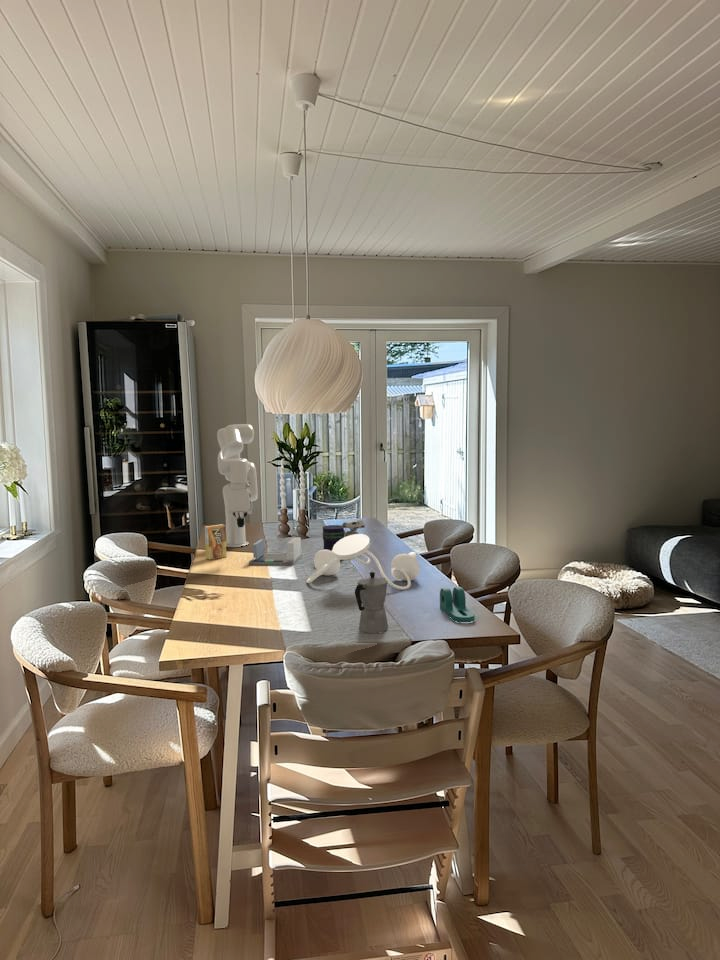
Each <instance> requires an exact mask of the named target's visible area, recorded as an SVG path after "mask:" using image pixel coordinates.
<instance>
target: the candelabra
mask: <svg viewBox="0 0 720 960" xmlns="http://www.w3.org/2000/svg"><path fill="white" fill-rule="evenodd" d="M370 546H371V541H370V537H369V536H368V535H366V534H364V533H359V534H354V535H349V536H347V537H344V538H342V539H341V540H339V541H338V542H337V543H336V544H335V545H334V546H333V550H332V551H330V550H326V549H324V550H323V549H321V550H319V551H317V552H316V553H315V555H314V557H313V565H314V567H315V569H316V571H314V573H312V574H311V575H310V576H309V577H308V579H306V583H307V584H311V583H312V582H314V581H315V580H316V579H317V578H318V577H320V576H321V575H322V576H327V577H328V576H329V577H330V576H334V575H336V574H337V573H338V572H339V571H340V570H341V561H340V560H343V561H345V560H347V561H348V560H351V559H355V560H356V561H357V562H359V563H360V564H362V565H369V564H371V558H372V559H373V561H374V562H375V564H376V567H377V569H378V571H379V573H380V575H381V578H386V579H385V580H387V581H388V582H387V585H389V586H391V587H392V588H394V589H397V590H399V591H405V590H409V588H411V585H412V582H411V581H414V580H416V578H418V576H419V575H420V569H421V568H420V567H421V566H420V564H419V562H418V560H417V553H416V552H415V551H410V552H408V554H407V553H399V554H397V555H395V556H394V558H392V560H391V564H390V565H391V566H390V569H391V571H390V575H391V577H392V578H394V580H396V581H398V582H402V581H403V582H407V585H405V586H400V585H397V584H395V583H393V582H392V581H391V580H390V579H389V578H388V577H387V575H386V574H385V572H384V571H383V568H382V566H381V563H380V561H379V560H378V558H377V557H376V556H375V554H373V553H372V552H371V551H369V549H370ZM368 555H369V556H370V557H369V556H368ZM359 556H363V557H364V558H365V559H366V561H365V560H362V559H360V558H359Z"/></svg>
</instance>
